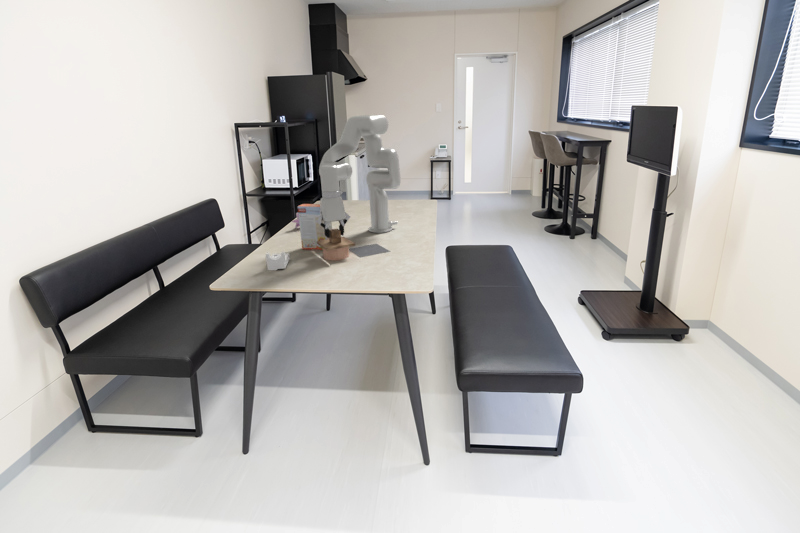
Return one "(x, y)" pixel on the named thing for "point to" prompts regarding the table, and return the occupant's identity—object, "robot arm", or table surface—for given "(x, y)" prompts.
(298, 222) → the lily
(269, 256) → the bracket
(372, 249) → the mat
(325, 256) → the bowl
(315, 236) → the cracker box
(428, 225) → the table surface
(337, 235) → the lid
